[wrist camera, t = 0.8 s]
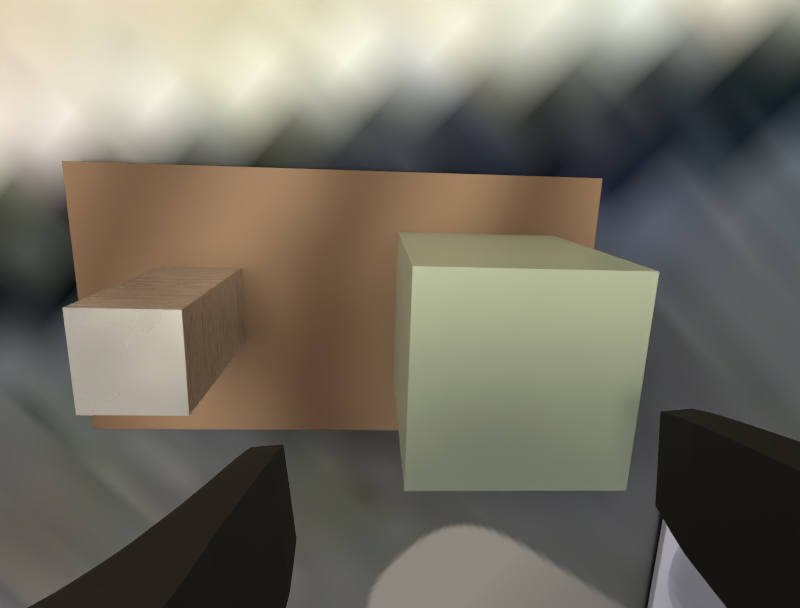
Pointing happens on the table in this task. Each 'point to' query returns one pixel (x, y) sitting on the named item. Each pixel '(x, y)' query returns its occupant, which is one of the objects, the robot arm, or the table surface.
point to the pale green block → (517, 362)
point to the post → (154, 340)
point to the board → (298, 269)
